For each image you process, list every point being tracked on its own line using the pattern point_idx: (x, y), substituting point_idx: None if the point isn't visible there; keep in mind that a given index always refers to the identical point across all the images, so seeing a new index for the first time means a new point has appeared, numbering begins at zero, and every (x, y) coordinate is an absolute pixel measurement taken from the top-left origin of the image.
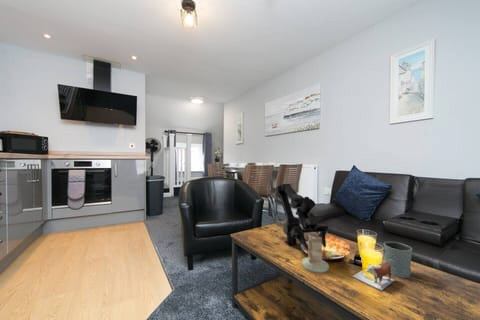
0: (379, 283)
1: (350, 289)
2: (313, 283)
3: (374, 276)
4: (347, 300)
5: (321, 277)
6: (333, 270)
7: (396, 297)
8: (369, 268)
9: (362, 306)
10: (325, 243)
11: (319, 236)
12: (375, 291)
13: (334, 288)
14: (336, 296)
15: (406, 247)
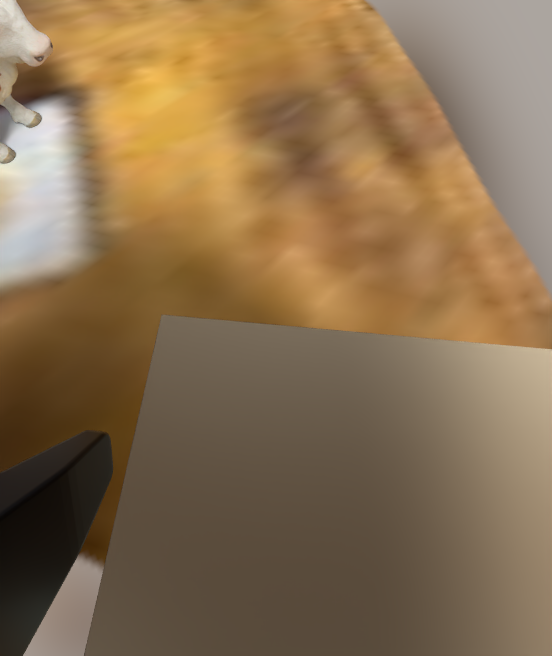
0: (19, 105)
1: (267, 142)
2: (522, 263)
3: (15, 74)
4: (378, 76)
5: (390, 316)
6: None
7: (59, 38)
8: (17, 5)
9: (328, 30)
10: (34, 460)
11: (151, 478)
12: (119, 94)
13: (379, 175)
14: (425, 114)
15: None
